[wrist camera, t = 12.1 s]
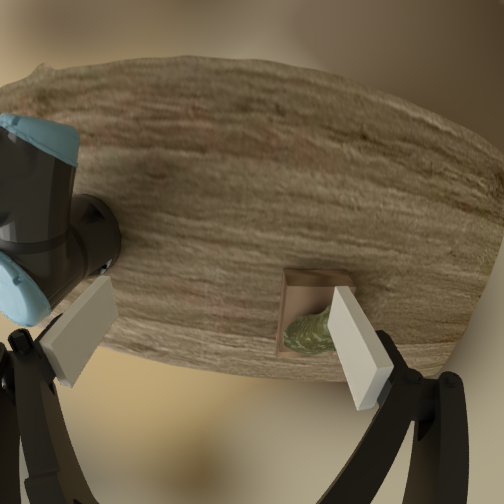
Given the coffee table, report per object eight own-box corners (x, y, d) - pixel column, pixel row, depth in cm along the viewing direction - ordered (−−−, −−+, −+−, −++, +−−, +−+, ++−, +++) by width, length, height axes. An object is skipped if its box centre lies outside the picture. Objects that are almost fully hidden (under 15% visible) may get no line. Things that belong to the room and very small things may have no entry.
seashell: (276, 355, 43) (304, 355, 34) (277, 312, 46) (304, 302, 37) (329, 354, 46) (364, 352, 37) (328, 314, 49) (362, 304, 40)
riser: (275, 346, 52) (277, 367, 47) (283, 269, 46) (287, 286, 40) (328, 345, 52) (335, 365, 47) (345, 270, 46) (356, 286, 41)
